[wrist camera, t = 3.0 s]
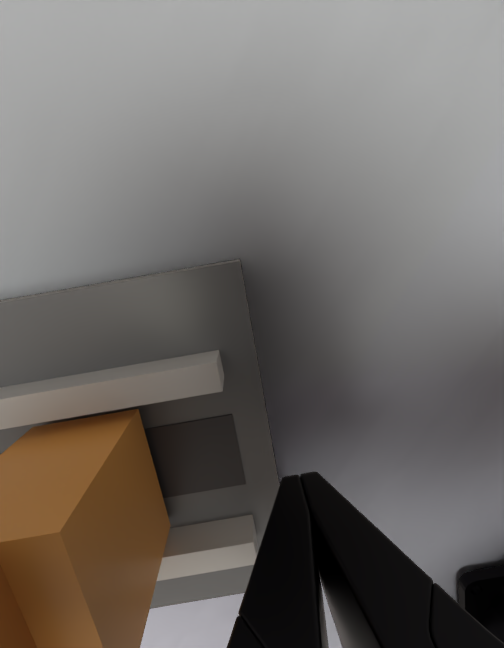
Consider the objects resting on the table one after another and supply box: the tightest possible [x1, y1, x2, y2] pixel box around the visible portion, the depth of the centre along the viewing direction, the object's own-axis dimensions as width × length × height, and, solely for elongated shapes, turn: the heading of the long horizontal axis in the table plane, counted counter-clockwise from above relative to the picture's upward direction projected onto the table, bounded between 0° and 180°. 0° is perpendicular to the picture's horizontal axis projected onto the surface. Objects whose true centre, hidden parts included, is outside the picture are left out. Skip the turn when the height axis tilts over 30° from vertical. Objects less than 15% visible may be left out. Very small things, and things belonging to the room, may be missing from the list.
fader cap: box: [0, 409, 171, 648], centre depth 7 cm, size 4×3×5 cm
